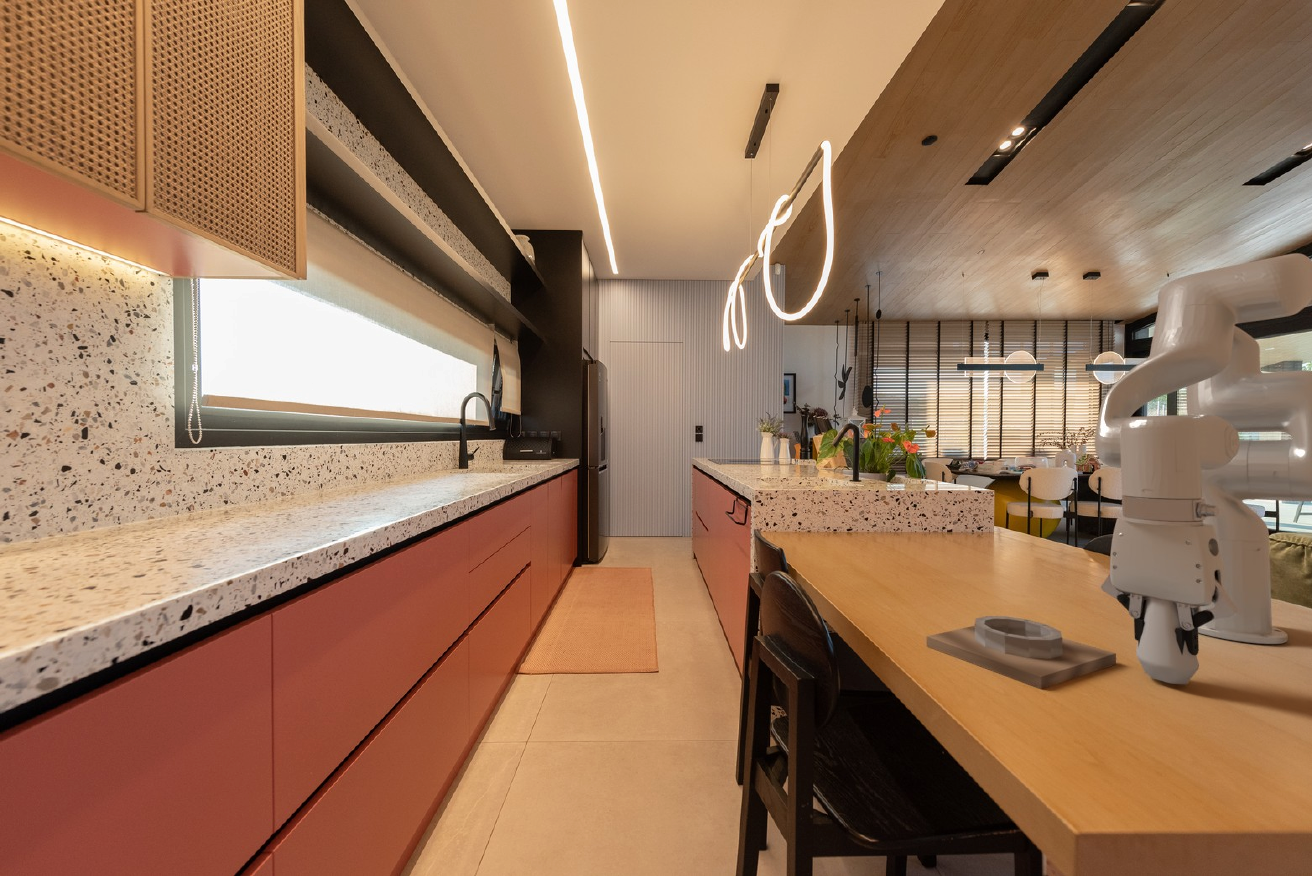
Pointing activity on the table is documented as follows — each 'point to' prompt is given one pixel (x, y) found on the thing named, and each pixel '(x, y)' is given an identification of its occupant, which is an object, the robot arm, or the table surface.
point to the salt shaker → (1164, 645)
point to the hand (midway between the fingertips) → (1165, 652)
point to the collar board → (1022, 665)
